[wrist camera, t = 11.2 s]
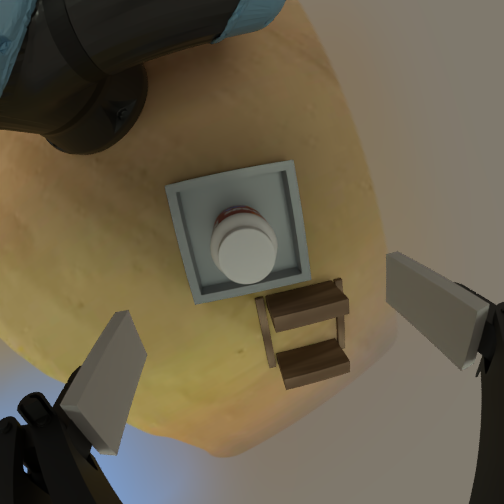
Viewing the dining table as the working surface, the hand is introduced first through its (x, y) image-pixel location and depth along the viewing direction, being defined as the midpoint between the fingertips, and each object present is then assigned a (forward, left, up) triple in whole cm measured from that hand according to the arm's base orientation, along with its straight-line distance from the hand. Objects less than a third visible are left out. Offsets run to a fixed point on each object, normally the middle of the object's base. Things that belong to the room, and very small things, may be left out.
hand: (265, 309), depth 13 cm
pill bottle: (0, 0, -21) cm, 21 cm away
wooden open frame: (+15, +6, -21) cm, 27 cm away
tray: (0, 0, -21) cm, 21 cm away
